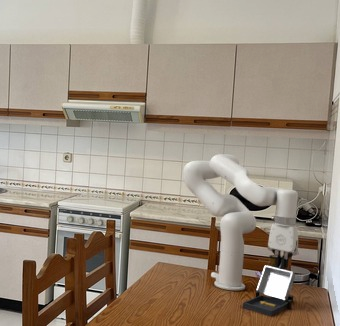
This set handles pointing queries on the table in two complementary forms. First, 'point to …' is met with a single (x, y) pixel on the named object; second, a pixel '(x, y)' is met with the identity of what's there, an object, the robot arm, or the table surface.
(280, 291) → the scoop
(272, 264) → the condiment
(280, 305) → the tray
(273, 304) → the key
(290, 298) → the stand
